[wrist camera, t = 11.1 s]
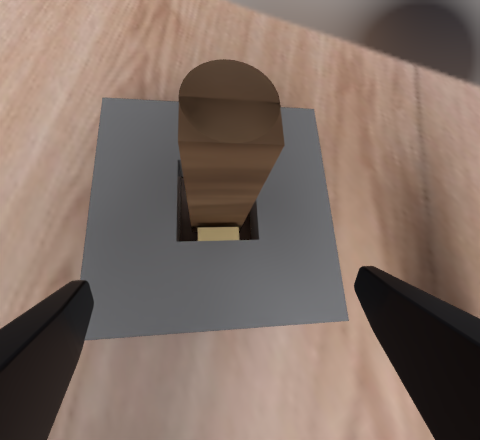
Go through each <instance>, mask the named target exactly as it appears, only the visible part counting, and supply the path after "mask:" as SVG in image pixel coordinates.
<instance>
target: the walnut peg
mask: <svg viewBox="0 0 480 440" xmlns="http://www.w3.org/2000/svg"><path fill="white" fill-rule="evenodd" d="M178 146H179V152H180V158H181V165H182V171H183V177H184V184H185V190H186V196H187V203H188V209H189V215H190V222H191V228H192V232H198V228H204V227H239V231H240V229H241V227H242V225H243V223H244V221H245V219H246V217H247V215H248V214H249V212H250V210H251V208H252V206H253V204H254V202H255V200H256V198H257V197H258V195H259V193H260V191H261V189H262V187H263V185H264V183H265V181H266V180H267V178H268V176H269V174H270V172H271V170H272V168H273V166H274V164H275V163H276V161H277V159H278V157H279V155H280V153H281V151H282V149H283V147H284V146H285V143H284V134H283V125H282V117H281V108H280V100H279V96H278V93H277V91H276V89H275V87H274V85H273V84H272V82H271V81H270V80H269V79H268V77H266V76H265V75H264V74H263V73H262V72H260V71H259V70H258V69H256V68H254V67H252V66H250V65H248V64H245V63H243V62H239V61H234V60H214V61H209V62H206V63H203V64H201V65H199V66H197V67H196V68H194V69H193V70H192V71H190V72H189V73H188V74H187V76H186V77H185V78H184V80H183V82H182V84H181V87H180V90H179V112H178Z"/></svg>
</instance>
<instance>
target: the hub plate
mask: <svg viewBox="0 0 480 440" xmlns="http://www.w3.org/2000/svg"><path fill="white" fill-rule="evenodd" d="M280 108H281V117H282V125H283V134H284V143H285V146H284V147H283V149H282V151H281V153H280V155H279V157H278V159H277V161H276V163H275V164H274V166H273V168H272V170H271V172H270V174H269V176H268V178H267V180H266V181H265V183H264V185H263V187H262V189H261V191H260V193H259V195H258V197H257V198H256V200H255V202H254V204H253V206H252V208H251V210H250V225H251V239H252V240H239V227H204V228H198V241H180V204H181V177H183V171H182V165H181V158H180V152H179V146H178V112H179V102H175V101H157V100H139V99H120V98H102V107H101V115H100V123H99V131H98V139H97V147H96V155H95V164H94V172H93V180H92V188H91V196H90V204H89V213H88V221H87V229H86V237H85V245H84V253H83V261H82V270H81V278H80V280H86V281H88V282H89V285H90V288H91V292H92V296H93V299H94V307H93V311H92V315H91V318H90V322H89V326H88V329H87V333H86V337H85V340H97V339H110V338H124V337H137V336H150V335H164V334H177V333H191V332H204V331H218V330H231V329H244V328H258V327H271V326H285V325H298V324H312V323H325V322H339V321H349V319H348V313H347V307H346V301H345V294H344V288H343V282H342V276H341V270H340V264H339V258H338V252H337V246H336V240H335V234H334V228H333V222H332V216H331V210H330V203H329V197H328V191H327V185H326V179H325V173H324V167H323V161H322V155H321V149H320V143H319V137H318V131H317V125H316V118H315V112H314V109H303V108H285V107H280Z"/></svg>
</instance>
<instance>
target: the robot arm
mask: <svg viewBox="0 0 480 440" xmlns="http://www.w3.org/2000/svg"><path fill="white" fill-rule="evenodd" d="M354 289H355V292H356V295H357V297H358V299H359V301H360V303H361V306H362V308H363V310H364V312H365V315H366V317H367V319H368V321H369V323H370V326H371V328H372V330H373V332H374V333H375V335H376V337H377V339H378V341H379V342H380V344H381V346H382V348H383V349H384V351H385V353H386V355H387V356H388V358H389V360H390V362H391V363H392V365H393V367H394V369H395V370H396V372H397V374H398V376H399V377H400V379H401V381H402V383H403V384H404V386H405V388H406V390H407V391H408V393H409V395H410V397H411V398H412V400H413V402H414V404H415V405H416V407H417V409H418V411H419V412H420V414H421V416H422V418H423V420H424V421H425V423H426V425H427V427H428V428H429V430H430V432H431V434H432V435H433V437H434V439H435V440H480V319H479V318H477V317H475V316H473V315H471V314H469V313H467V312H465V311H463V310H461V309H459V308H457V307H455V306H453V305H451V304H449V303H447V302H445V301H443V300H441V299H439V298H437V297H435V296H432V295H430V294H428V293H426V292H424V291H422V290H420V289H418V288H416V287H414V286H412V285H410V284H408V283H406V282H404V281H402V280H400V279H398V278H396V277H394V276H392V275H390V274H388V273H386V272H384V271H382V270H380V269H378V268H376V267H374V266H363V267H361V268H360V269H359V271H358V274H357V277H356V280H355V283H354ZM93 307H94V299H93V296H92V292H91V288H90V285H89V282H88V281H86V280H75V281H71V282H69V283H68V284H66V285H65V286H63V287H62V288H60V289H59V290H57V291H56V292H54V293H53V294H51V295H50V296H49V297H47V298H46V299H44V300H43V301H41V302H40V303H38V304H37V305H35V306H34V307H32V308H31V309H29V310H28V311H26V312H25V313H23V314H22V315H20V316H19V317H17V318H16V319H14V320H13V321H12V322H10V323H9V324H7V325H6V326H4V327H3V328H1V329H0V440H47V438H48V436H49V433H50V431H51V428H52V426H53V423H54V421H55V418H56V416H57V413H58V411H59V408H60V406H61V403H62V401H63V398H64V396H65V393H66V391H67V388H68V386H69V383H70V381H71V378H72V375H73V373H74V370H75V368H76V365H77V363H78V360H79V357H80V354H81V351H82V347H83V344H84V340H85V337H86V333H87V329H88V326H89V322H90V318H91V315H92V311H93Z"/></svg>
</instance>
